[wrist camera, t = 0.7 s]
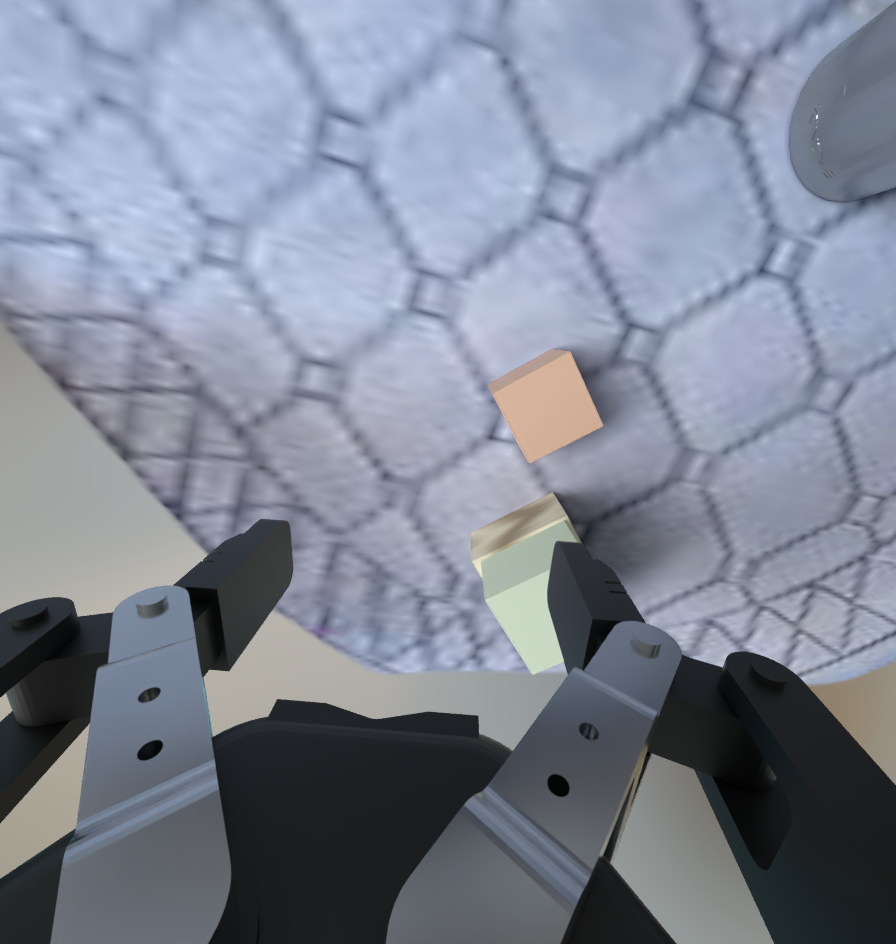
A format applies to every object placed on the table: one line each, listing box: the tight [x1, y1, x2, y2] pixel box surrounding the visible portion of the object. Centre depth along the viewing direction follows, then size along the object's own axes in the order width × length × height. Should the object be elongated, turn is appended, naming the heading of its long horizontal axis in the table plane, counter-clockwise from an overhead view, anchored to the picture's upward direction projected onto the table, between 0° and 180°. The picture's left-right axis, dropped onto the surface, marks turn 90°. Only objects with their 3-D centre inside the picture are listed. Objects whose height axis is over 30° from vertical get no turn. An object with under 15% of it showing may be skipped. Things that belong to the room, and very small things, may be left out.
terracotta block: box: [488, 349, 603, 464], centre depth 30 cm, size 6×6×6 cm
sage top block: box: [481, 520, 577, 675], centre depth 30 cm, size 7×7×5 cm
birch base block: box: [470, 493, 581, 579], centre depth 34 cm, size 8×8×5 cm
